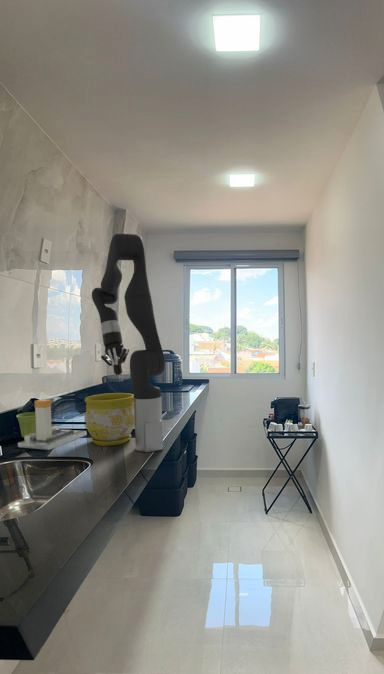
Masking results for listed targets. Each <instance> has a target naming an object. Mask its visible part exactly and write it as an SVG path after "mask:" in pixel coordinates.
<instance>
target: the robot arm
mask: <svg viewBox="0 0 384 674" xmlns="http://www.w3.org/2000/svg"><path fill="white" fill-rule="evenodd" d="M107 254H108V255H107V260H106V266H105V271H104V274H103V276H102V280H101V282H100V287H95V288H94V289H92V292H91V298H92V299H91V300H92V301H93V304H94V306H95V308H96V310H97V313H98V315H99V321H100V327H101V328H100V330H101V336H102V342H103V346H104V348H105V349H104V354H103V355H101V356H100V357H101V360H102V361H104V362H105V363H106V365H108V366H109V367H110V366H111V367H112V368H113V373H114V375H115V376H121V375H122V373H123V369H122V364H124V363H125V362H126V360H127V357H128V355H129V352H130V349H129V348H126V347H124V344H123V337H122V332H121V327H120V324H119V318H118V313H117V310H116V309H115V308H113V307H109V306H107V305H113V304H116V303H117V301H118V298H119V297H118V295H119V294H118V293H119V287H120V284H121V282H122V279H123V273H122V270H121V267H120V266H119V263H118V261H133V274H132V276H131V279H130V281H129V283H128V285H127V287H126V290H125V293H124V296H123V297H124V305H125V309H126V310H125V311H126V314H127V315H126V316H127V317H128V319H129V320H130V323H132V324H133V326H134V327H135V329H136V330H137V331H138V333H139V334H140V336H141V338H142V342H143V344H144V348H145V349H139V350H134V351H133V352H132V353H131V355H130V358H129V372H130V373H129V374H130V384H131V390H132V394H134V399H133V402H134V417H135V424H134V438H135V450H136V451H138V452H144V453H150V452H156V451H162V450H163V449H164V440H163V439H164V436H163V432H164V431H163V412H162V406H163V405H162V390H161V388H160V387H159V386H156V385H155V386H154V385H153V384H151V383H150V377H155V376H156V377H158V376H161V375H162V374H163V373H164V371H165V369H166V368H165V366H166V360H165V354H164V351H163V347H162V345H161V342H160V341H161V339H160V337H159V333H158V329H157V324H156V319H155V314H154V313H155V312H154V307H153V306H154V305H153V301H152V295H151V291H150V286H149V278H148V272H147V263H146V252H145V244H144V241H143V238H142V237H141V235H140V234H136V233H135V234H134V233H115V234H113V236H112V238H111V240H110V245H109V248H108V253H107Z"/></svg>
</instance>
